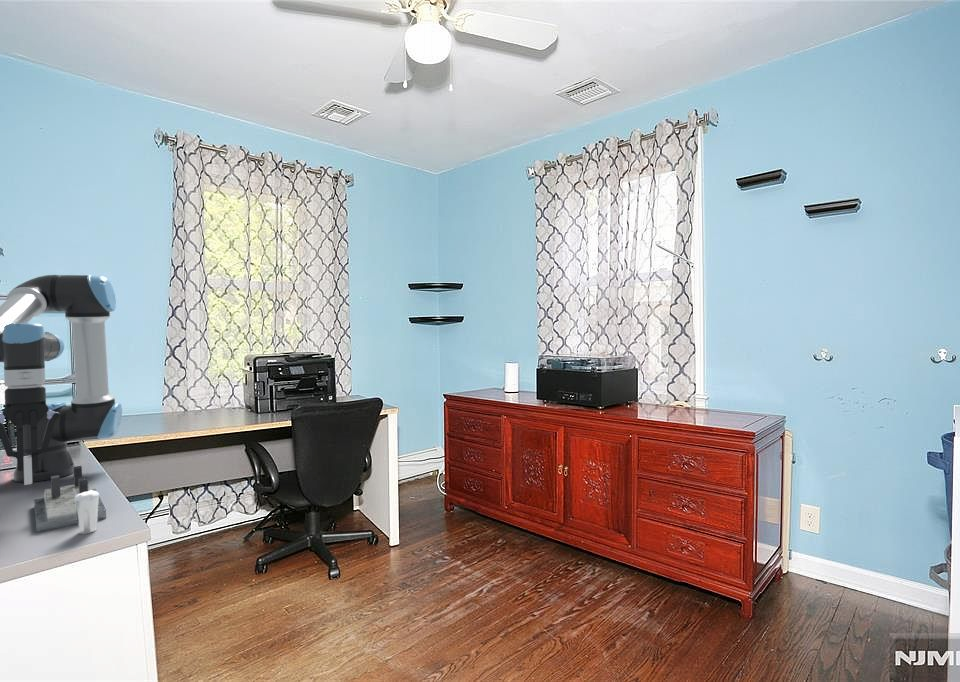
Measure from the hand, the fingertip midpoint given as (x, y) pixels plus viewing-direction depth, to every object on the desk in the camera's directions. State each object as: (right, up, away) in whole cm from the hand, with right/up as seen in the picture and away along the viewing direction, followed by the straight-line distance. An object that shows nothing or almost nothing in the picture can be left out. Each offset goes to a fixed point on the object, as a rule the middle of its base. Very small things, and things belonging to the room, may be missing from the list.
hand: (28, 483), depth 127 cm
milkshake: (+20, -9, -8) cm, 23 cm away
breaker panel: (+6, -9, +5) cm, 12 cm away
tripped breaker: (+4, -4, +4) cm, 7 cm away
